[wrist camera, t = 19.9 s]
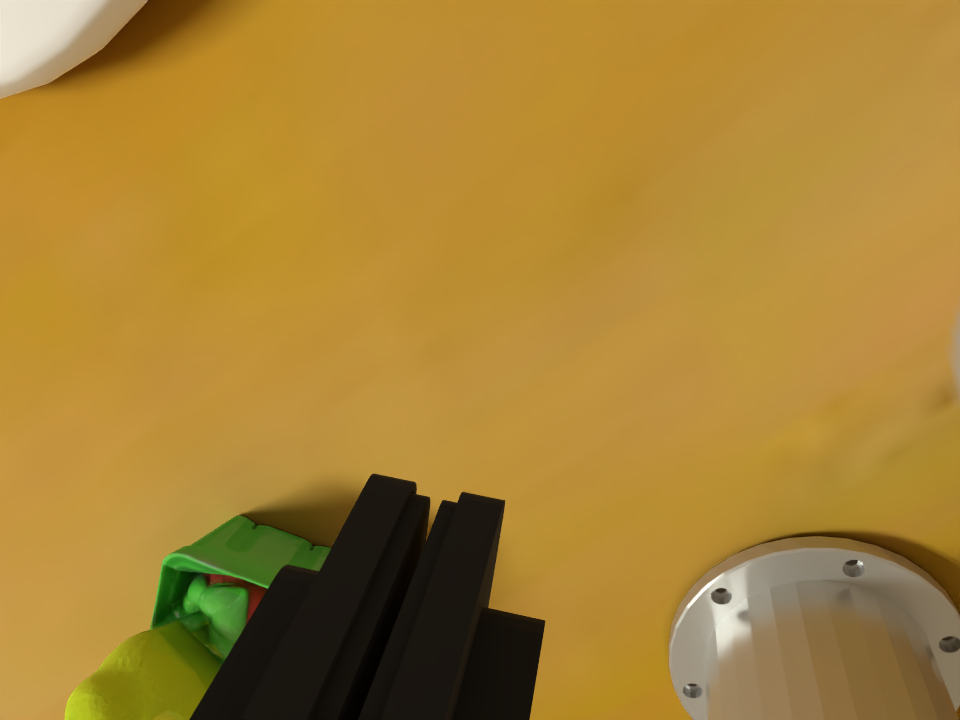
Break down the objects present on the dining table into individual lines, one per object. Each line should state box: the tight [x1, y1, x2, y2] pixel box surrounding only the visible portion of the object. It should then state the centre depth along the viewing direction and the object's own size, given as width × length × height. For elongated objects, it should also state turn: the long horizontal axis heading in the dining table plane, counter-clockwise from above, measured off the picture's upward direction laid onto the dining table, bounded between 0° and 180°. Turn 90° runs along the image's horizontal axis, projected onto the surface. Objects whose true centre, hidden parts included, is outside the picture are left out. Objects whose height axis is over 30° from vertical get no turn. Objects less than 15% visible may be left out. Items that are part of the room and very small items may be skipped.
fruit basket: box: [65, 515, 331, 720], centre depth 41 cm, size 11×9×11 cm
